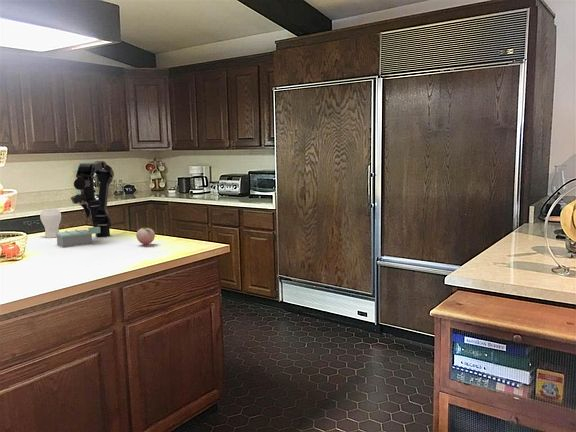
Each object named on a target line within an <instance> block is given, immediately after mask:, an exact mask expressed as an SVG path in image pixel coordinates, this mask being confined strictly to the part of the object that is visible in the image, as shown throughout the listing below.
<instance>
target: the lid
mask: <svg viewBox="0 0 576 432" xmlns="http://www.w3.org/2000/svg"><path fill="white" fill-rule="evenodd" d="M87 229H88V230H87ZM87 229H79V230H78V229H75V230H70V231H67V230H65V231H62V232H61V231H59V233H56V235H58V236H60V237H68V236H77V235H85V234H92V235H93V234H95V235H96V233H100V227H93V226H92V227H88V228H87Z"/></svg>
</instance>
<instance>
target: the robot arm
mask: <svg viewBox="0 0 576 432" xmlns="http://www.w3.org/2000/svg"><path fill="white" fill-rule="evenodd" d="M95 175H96V178H97V180H98V182H99V188H98V189H99V190H98V196H97V197H98V198H97V197H96V195H95V193H96V191H97V190H96V189H95V180H94V179H95ZM75 177H76V179H74V182H73V187H74V188H75V189H76V190H77V191H80V193H79V194H78V193H77V194H76V195H73V196H71V197H70V200H71V201H72V204H74V205H77V204H79V206H80V207H82V208H83V211H84V214H85V217H86V218H90V217H91V222H92V225H93V226H92V227H100V233H96V234H95V238H107V237H110V236H111V231H110V228H111V227H112V226H113V222H112V219H111V217H110V214H109V211H108V210H107V207H108V198H109V187H110V184H111V183H112V182H113V178H114V177H115V173H114V170H113V168H112V167H111V166H110V165H108V164H107V162H106V161H104V160H98V161H97V160H96V161H95V162H91V163H79V165H78V167H77V170H76V175H75Z"/></svg>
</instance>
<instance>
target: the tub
mask: <svg viewBox="0 0 576 432" xmlns="http://www.w3.org/2000/svg"><path fill="white" fill-rule="evenodd" d="M56 243H57V246H59V247H62V248H63V249H64V248H69V247H76V246H86V245H93V234H85V235H77V236H68V237H60V236H58V235H57V237H56Z"/></svg>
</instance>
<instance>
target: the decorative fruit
mask: <svg viewBox="0 0 576 432" xmlns="http://www.w3.org/2000/svg"><path fill="white" fill-rule="evenodd" d="M135 236H136V239H137V241H138V242H139V243H140V244H142V245H144V246H148V245H149V244H152V242H154V240H155V238H156V233H155V231H154V230H153V229H152V228H149V227H140V228H139V229H138V230H137V232H136V234H135Z"/></svg>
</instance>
